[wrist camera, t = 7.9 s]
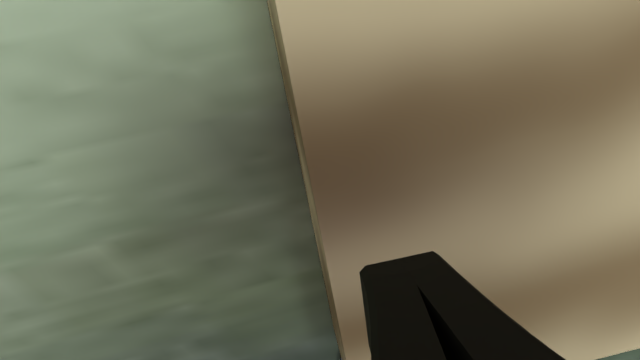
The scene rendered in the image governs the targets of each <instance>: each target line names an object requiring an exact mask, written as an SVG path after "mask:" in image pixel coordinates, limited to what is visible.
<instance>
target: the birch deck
mask: <svg viewBox="0 0 640 360" xmlns="http://www.w3.org/2000/svg"><path fill="white" fill-rule="evenodd" d="M267 4H268V8H269V13H270V18H271V23H272V28H273V33H274V38H275V43H276V48H277V52H278V57H279V62H280V67H281V72H282V77H283V82H284V87H285V92H286V97H287V101H288V106H289V111H290V116H291V121H292V126H293V131H294V136H295V141H296V145H297V150H298V155H299V160H300V165H301V170H302V175H303V180H304V185H305V189H306V194H307V199H308V204H309V209H310V214H311V219H312V224H313V229H314V234H315V238H316V243H317V248H318V253H319V258H320V263H321V268H322V273H323V278H324V282H325V287H326V292H327V297H328V302H329V307H330V312H331V317H332V322H333V326H334V331H335V335H336V339H337V343H338V346H339V350H340V354H341V358H342V360H371V352H370V348H369V344H368V336H367V328H366V320H365V312H364V304H363V297H362V289H361V281H360V273H359V272H360V271H361V270H362V269H363V268H364V266H366V265H370V264H375V263H380V262H384V261H389V260H393V259H398V258H403V257H407V256H412V255H416V254H421V253H426V252H430V251H434V252H435V253H437V254H438V255H440V256H441V257H442V258H443V259H444V260H445V261H446V262H447V263H448V264H449V265H451V266H452V267H453V268H454V269H455V270H456V271H457V272H458V273H459V274H460V275H461V276H463V277H464V278H465V279H466V280H467V281H468V282H469V283H470V284H472V285H473V286H474V287H475V288H476V289H477V290H478V291H480V292H481V293H482V294H483V295H484V296H485V297H487V298H488V299H489V300H490V301H491V302H492V303H494V304H495V305H496V306H497V307H498V308H500V309H501V310H502V311H503V312H504V313H506V314H507V315H508V316H509V317H511V318H512V319H513V320H514V321H516V322H517V323H518V324H520V325H521V326H522V327H523V328H525V329H526V330H527V331H528V332H530V333H531V334H532V335H533V336H535V337H536V338H537V339H539V340H540V341H541V342H543V343H544V344H545V345H546V346H548V347H549V348H550V349H552V350H553V351H555V352H556V353H557V354H559V355H560V356H561V357H563V358H564V359H566V360H595V359H599V358H603V357H607V356H611V355H615V354H619V353H623V352H627V351H630V350H634V349H638V348H640V0H267Z"/></svg>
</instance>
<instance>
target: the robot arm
mask: <svg viewBox="0 0 640 360" xmlns="http://www.w3.org/2000/svg"><path fill="white" fill-rule="evenodd" d="M359 273H360V281H361V289H362V297H363V304H364V312H365V320H366V328H367V336H368V344H369V348H370V352H371V360H566V359H564V358H563V357H561V356H560V355H559V354H557V353H556V352H555V351H553V350H552V349H550V348H549V347H548V346H546V345H545V344H544V343H543V342H541V341H540V340H539V339H537V338H536V337H535V336H533V335H532V334H531V333H530V332H528V331H527V330H526V329H525V328H523V327H522V326H521V325H520V324H518V323H517V322H516V321H514V320H513V319H512V318H511V317H509V316H508V315H507V314H506V313H504V312H503V311H502V310H501V309H500V308H498V307H497V306H496V305H495V304H494V303H492V302H491V301H490V300H489V299H488V298H487V297H485V296H484V295H483V294H482V293H481V292H480V291H478V290H477V289H476V288H475V287H474V286H473V285H472V284H470V283H469V282H468V281H467V280H466V279H465V278H464V277H463V276H461V275H460V274H459V273H458V272H457V271H456V270H455V269H454V268H453V267H452V266H451V265H449V264H448V263H447V262H446V261H445V260H444V259H443V258H442V257H441V256H440V255H438V254H437V253H435V252H434V251H430V252H426V253H421V254H416V255H412V256H407V257H403V258H398V259H393V260H389V261H384V262H380V263H375V264H370V265H366V266H364V268H363V269H362V270H361V271H360V272H359ZM341 360H342V358H341Z"/></svg>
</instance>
